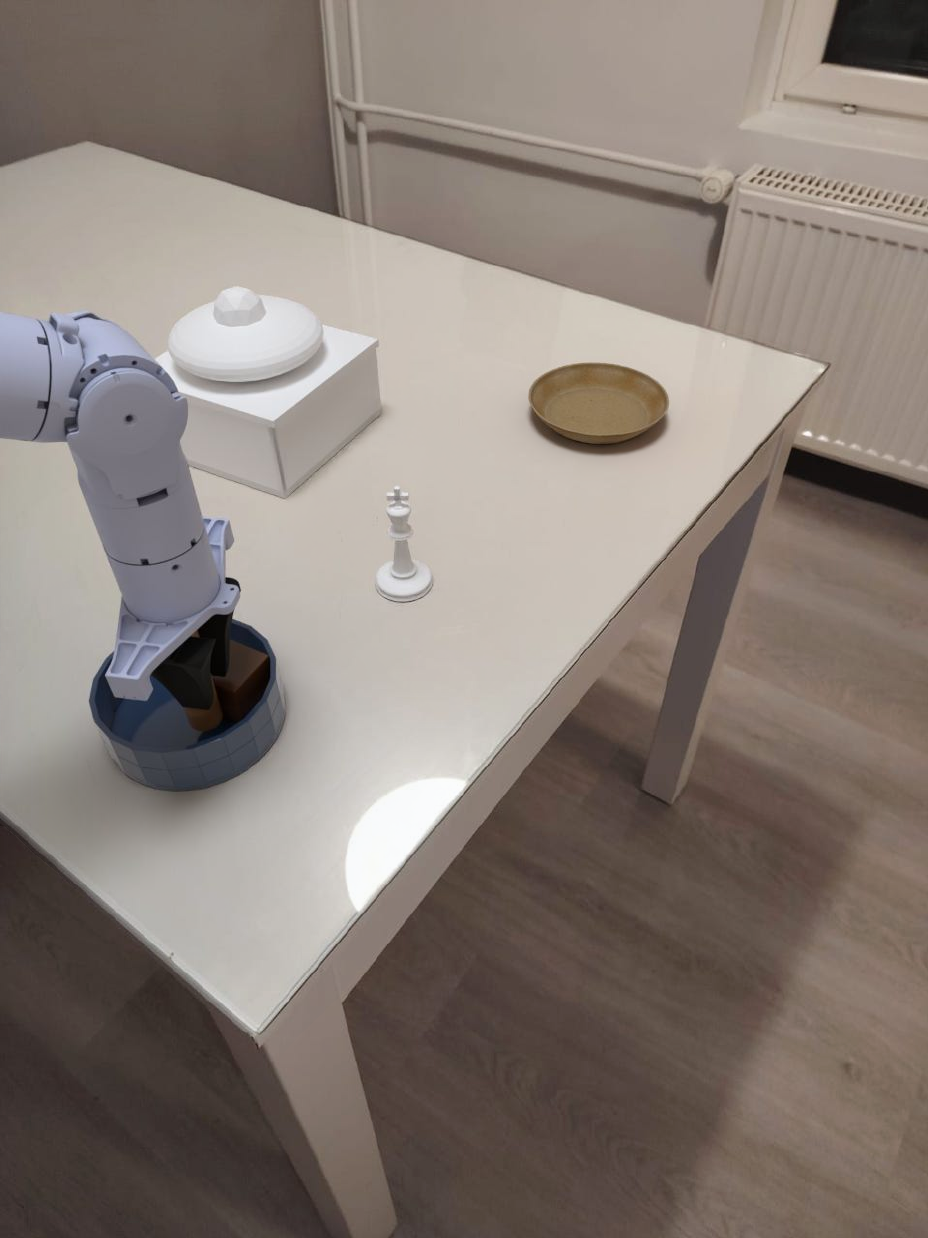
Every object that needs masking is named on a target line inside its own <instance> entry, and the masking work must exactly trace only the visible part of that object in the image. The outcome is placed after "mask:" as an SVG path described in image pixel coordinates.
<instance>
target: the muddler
mask: <svg viewBox="0 0 928 1238" xmlns="http://www.w3.org/2000/svg"><path fill="white" fill-rule="evenodd" d="M191 637H199V634H198V631H197V630H196V631H195V632H194V633H193V634H192V635H191ZM211 679H212V676H211ZM212 685H213V691H214V699H213V704H212V706H211V708H210V709H209V710H203V709H195V708H187V707H184V710H185V713H186V715H187V718H188V721H189V724H190V726H191V727H192V728H193V729H195V730H197V731H209V730H212V729H214V728H216V727H217V726H218V725H219V724H220V723H221V721H222V719H223V712H222V708H221V705H220V702H219V699H218V695H217V692H216V689H215V686H214V682H213V679H212Z"/></svg>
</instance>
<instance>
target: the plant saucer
mask: <svg viewBox="0 0 928 1238" xmlns="http://www.w3.org/2000/svg"><path fill="white" fill-rule="evenodd" d="M527 397H528V398H527V399H528V402H529V405H530V406H531V408H532V410H533V412H534V413H535V415H537V417H538V418H539V420H541V421H542V422H543V423H544V424H545V425H546V426H548V427H549V428H550V429H551V430H553V431H554V432H556V433H557V434H558V435H561V436H563V437H565V438H566V439H570V440H572V441H576V442H579V443H584V444H592V445H595V444H596V445H608V444H609V445H610V444H616V443H620V442H624V441H628V440H630V439H633V438H635V437H637V436H639V435H640V434H642V433H644V432H646V431H647V430H649V429H650V428H652V427H653V426H654V425H655V424H657V423H658V422H659V421H660V420H661V419H662V418H663V417H664V416H665V415H666V413H667V412H668V410H669V407H670V398H669V394H668V392H667V390H666V389H665V387H664V386H663V385H662V384H661V383H660V382H659V381H658V380H657V379H655V378H653V377H652V376H650V375H649V374H646V373H644V372H642V371H640V370H637V369H635V368H631V367H629V366H625V365H620V364H615V363H607V362H579V363H570V364H565V365H562V366H559V367H556V368H553V369H551V370H549V371H547V372H545V373H543V374H541V375H540V376H538V377H537V378H536V379H535V380H534V381H533V383H532V384H531V386H530V387H529V390H528V395H527Z"/></svg>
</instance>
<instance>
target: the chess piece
mask: <svg viewBox="0 0 928 1238" xmlns="http://www.w3.org/2000/svg"><path fill="white" fill-rule="evenodd" d="M393 487H394V488H393V492H386V500H387V501H391V502H390V503H388V504H387V505H386V508H385V513H386V515H387V517H388V518H389V520H390V522H391V525H390V526H388V528H387V531H386V534H387V537H388V538H389V539H391V540H393V541H394V548H393V552H394V553H393V560H390V561H388V562H385V563H384V564H383V565H382V566H381V567H380V568H379V569H378V570H377V572H376V574H375V575H376V576H375V584H374V585H375V588H376V591H377V592H378V594H380V596H382V597H384V598H385V599H387V600H389V601H393V602H398V603H399V602H400V603H405V602H406V603H407V602H412V601H415V600H418V599H421V598H422V597H425V595H427V594H428V593H429V592H430V590H431V589H432V586H433V583H434V582H433V576H432V572H431V569H430V568H429V566H427V565H426V563H424V562H422V561H420V560H417V559H415V558H412V556H411V552H410V548H409V542H408V540H409V539H411V538H412V537H413V535H414V529H413V526H411V525H410V524H409V523H408V521H409V519H410V518H409V517H410V515H411V513H412V507H411V504H410V503H408V502H407V501H409V500H410V499H409V492H401V486H400V485H394V486H393Z"/></svg>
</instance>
